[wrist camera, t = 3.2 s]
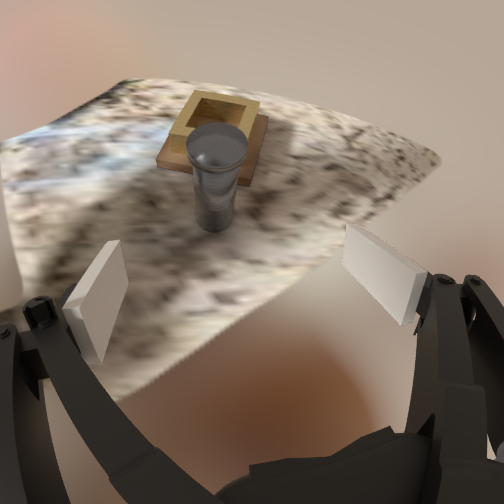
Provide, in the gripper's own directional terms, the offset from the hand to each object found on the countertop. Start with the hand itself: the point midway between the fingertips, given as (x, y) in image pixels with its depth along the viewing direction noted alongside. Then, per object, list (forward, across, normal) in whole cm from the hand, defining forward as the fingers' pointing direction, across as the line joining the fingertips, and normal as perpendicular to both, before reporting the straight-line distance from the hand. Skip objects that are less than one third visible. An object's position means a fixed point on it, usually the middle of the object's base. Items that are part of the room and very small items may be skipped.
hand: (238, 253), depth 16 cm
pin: (+17, 0, -3) cm, 17 cm away
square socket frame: (+24, 0, +7) cm, 25 cm away
